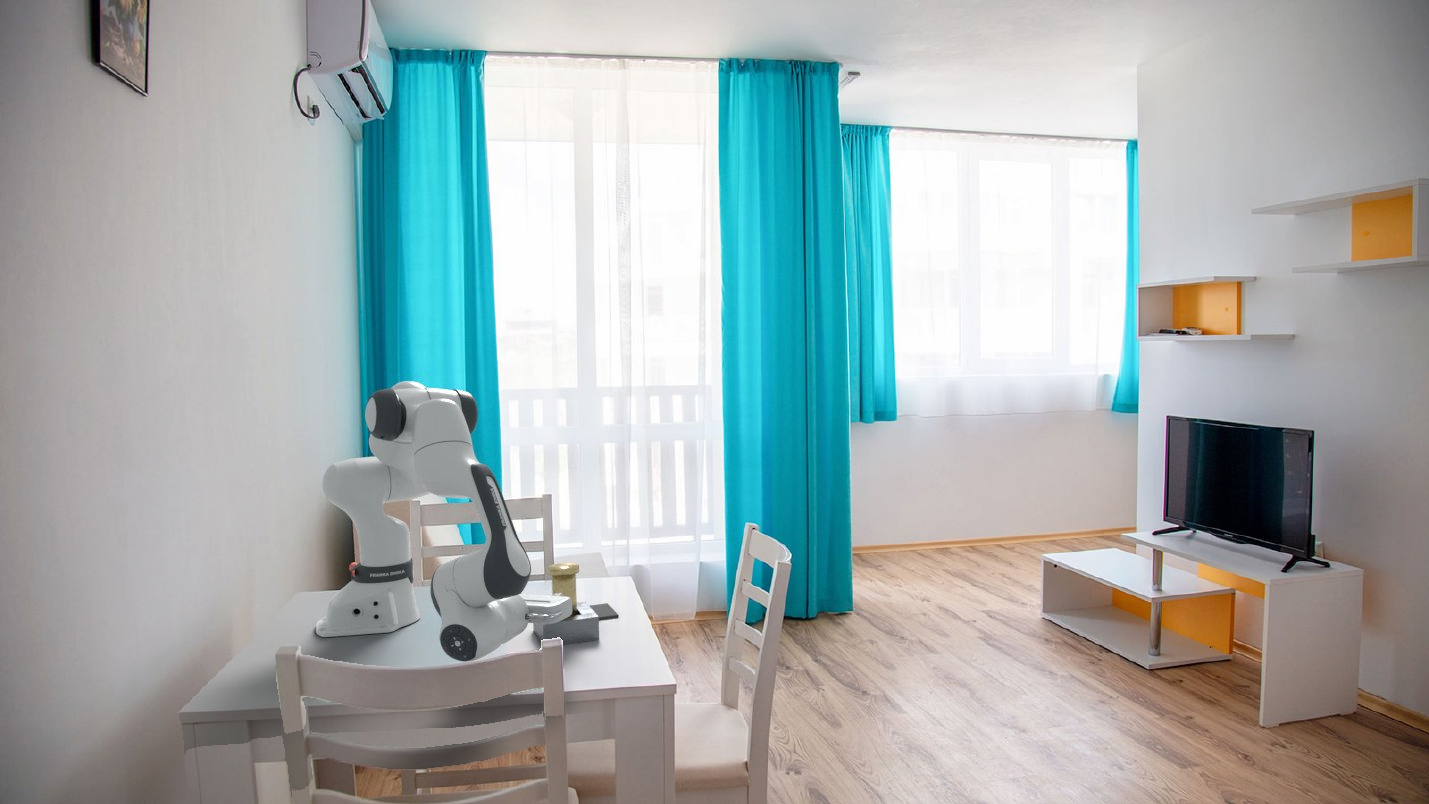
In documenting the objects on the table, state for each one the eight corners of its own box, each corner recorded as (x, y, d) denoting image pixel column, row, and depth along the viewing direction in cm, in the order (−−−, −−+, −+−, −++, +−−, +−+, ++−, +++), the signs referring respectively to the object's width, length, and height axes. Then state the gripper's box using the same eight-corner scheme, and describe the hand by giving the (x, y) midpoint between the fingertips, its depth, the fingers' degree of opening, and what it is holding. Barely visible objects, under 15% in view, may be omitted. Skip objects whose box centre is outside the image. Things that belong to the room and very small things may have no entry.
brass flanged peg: (553, 632, 181) (551, 572, 180) (547, 623, 188) (544, 565, 187) (584, 628, 184) (582, 568, 183) (577, 619, 190) (575, 561, 189)
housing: (543, 647, 178) (543, 624, 178) (533, 630, 189) (532, 608, 189) (599, 639, 182) (598, 616, 182) (586, 623, 194) (585, 601, 193)
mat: (576, 623, 194) (576, 620, 194) (567, 610, 203) (566, 608, 203) (618, 617, 198) (618, 614, 197) (607, 605, 207) (607, 603, 207)
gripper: (553, 602, 157) (585, 583, 170) (457, 596, 163) (494, 578, 176) (555, 636, 157) (586, 614, 171) (458, 629, 163) (495, 608, 176)
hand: (539, 595), depth 173 cm, fingers open, 8 cm apart
